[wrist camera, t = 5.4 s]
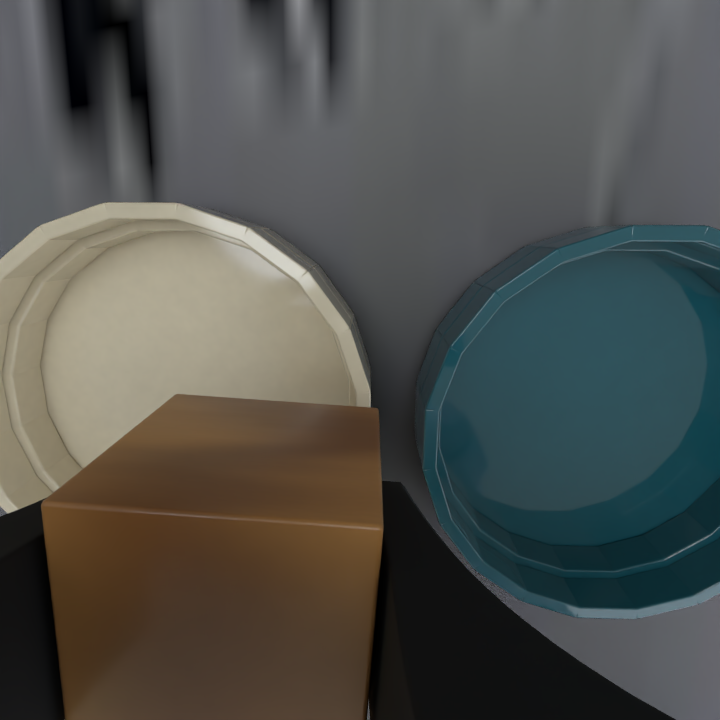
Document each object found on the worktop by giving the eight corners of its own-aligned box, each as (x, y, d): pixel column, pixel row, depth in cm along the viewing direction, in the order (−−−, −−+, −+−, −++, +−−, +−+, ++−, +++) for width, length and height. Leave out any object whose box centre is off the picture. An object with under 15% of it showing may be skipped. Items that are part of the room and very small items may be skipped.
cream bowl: (419, 278, 17) (430, 288, 14) (313, 572, 20) (301, 639, 17) (62, 157, 16) (-19, 136, 13) (10, 481, 19) (-66, 532, 16)
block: (378, 406, 10) (384, 527, 6) (365, 580, 11) (361, 786, 7) (175, 392, 10) (36, 502, 6) (180, 567, 11) (68, 763, 7)
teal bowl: (833, 296, 17) (948, 312, 13) (661, 590, 20) (720, 662, 17) (490, 174, 16) (522, 158, 13) (368, 499, 19) (367, 555, 16)
